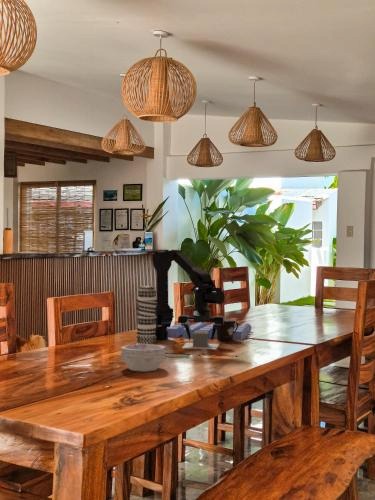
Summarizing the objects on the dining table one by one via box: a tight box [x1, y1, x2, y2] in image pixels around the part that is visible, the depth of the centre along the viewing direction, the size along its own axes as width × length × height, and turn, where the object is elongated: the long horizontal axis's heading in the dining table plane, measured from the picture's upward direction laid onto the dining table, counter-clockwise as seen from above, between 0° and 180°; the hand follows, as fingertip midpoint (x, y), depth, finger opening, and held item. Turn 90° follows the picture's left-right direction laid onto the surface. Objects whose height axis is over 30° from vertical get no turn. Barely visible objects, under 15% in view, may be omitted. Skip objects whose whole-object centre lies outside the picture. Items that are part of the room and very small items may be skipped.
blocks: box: [167, 322, 252, 341], centre depth 312 cm, size 35×34×5 cm
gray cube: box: [192, 331, 210, 347], centre depth 269 cm, size 6×6×6 cm
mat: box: [165, 352, 192, 359], centre depth 255 cm, size 11×11×1 cm
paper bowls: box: [120, 343, 166, 373], centre depth 225 cm, size 15×15×8 cm
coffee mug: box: [216, 318, 239, 342], centre depth 287 cm, size 12×9×10 cm
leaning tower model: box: [135, 285, 158, 345], centre depth 278 cm, size 9×9×25 cm
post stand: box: [181, 342, 220, 350], centre depth 269 cm, size 14×14×5 cm
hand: (200, 340), depth 269 cm, fingers open, 9 cm apart
